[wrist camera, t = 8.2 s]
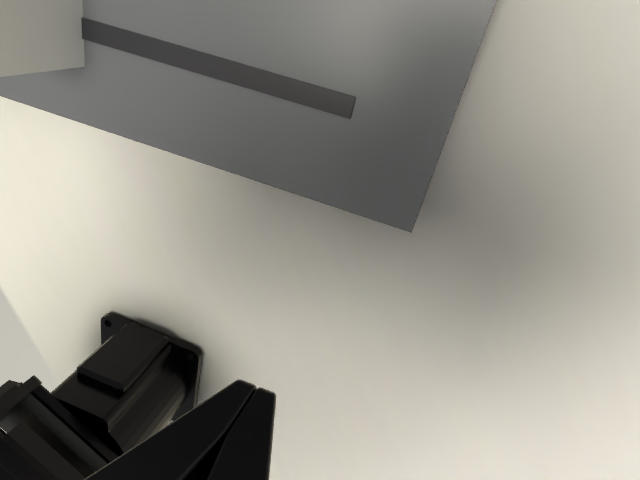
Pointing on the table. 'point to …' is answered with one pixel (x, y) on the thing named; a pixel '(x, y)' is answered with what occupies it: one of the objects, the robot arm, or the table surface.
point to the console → (260, 85)
